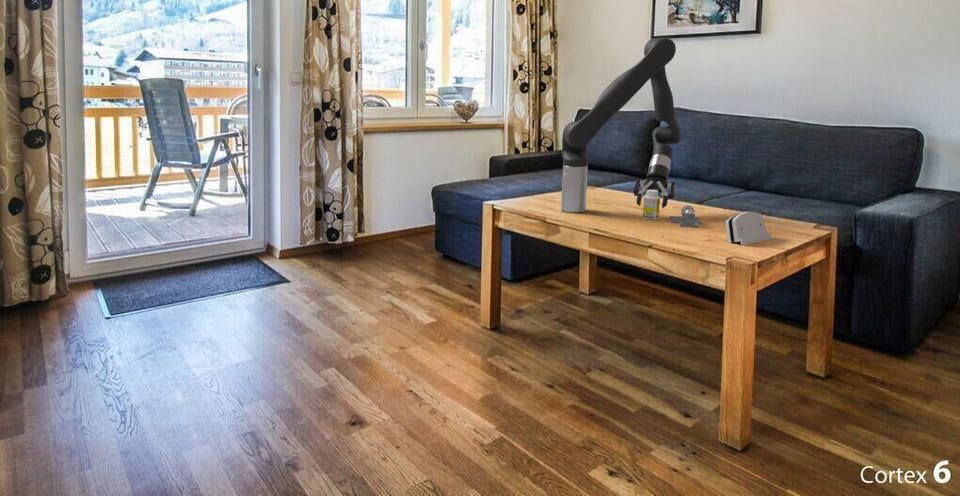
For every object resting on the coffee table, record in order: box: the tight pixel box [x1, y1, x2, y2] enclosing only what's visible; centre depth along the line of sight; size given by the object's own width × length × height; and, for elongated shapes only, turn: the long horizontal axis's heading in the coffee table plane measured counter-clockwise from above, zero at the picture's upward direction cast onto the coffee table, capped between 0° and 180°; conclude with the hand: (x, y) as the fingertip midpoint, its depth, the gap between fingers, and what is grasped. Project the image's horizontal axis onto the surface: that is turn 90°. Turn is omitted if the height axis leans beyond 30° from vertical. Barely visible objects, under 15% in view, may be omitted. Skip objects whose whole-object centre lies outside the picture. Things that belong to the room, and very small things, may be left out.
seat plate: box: [669, 215, 703, 225], centre depth 237 cm, size 10×10×1 cm
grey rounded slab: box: [725, 211, 772, 247], centre depth 209 cm, size 17×5×10 cm, turn 126°
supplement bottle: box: [642, 189, 661, 221], centre depth 238 cm, size 6×6×10 cm
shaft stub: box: [678, 204, 700, 228], centre depth 229 cm, size 6×7×6 cm
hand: (650, 205), depth 237 cm, fingers open, 8 cm apart
